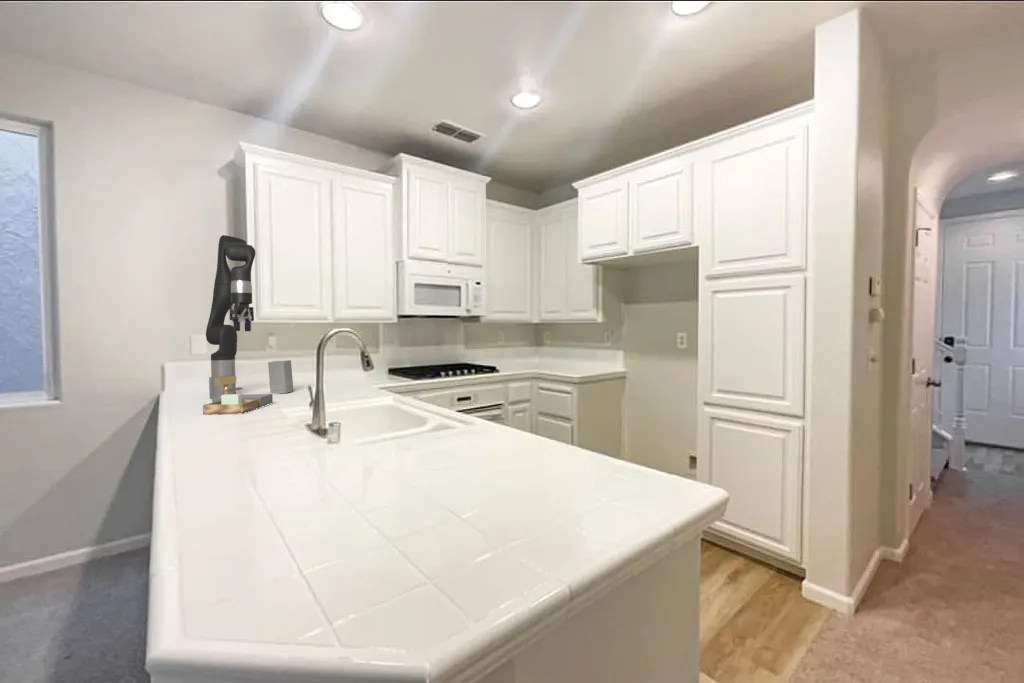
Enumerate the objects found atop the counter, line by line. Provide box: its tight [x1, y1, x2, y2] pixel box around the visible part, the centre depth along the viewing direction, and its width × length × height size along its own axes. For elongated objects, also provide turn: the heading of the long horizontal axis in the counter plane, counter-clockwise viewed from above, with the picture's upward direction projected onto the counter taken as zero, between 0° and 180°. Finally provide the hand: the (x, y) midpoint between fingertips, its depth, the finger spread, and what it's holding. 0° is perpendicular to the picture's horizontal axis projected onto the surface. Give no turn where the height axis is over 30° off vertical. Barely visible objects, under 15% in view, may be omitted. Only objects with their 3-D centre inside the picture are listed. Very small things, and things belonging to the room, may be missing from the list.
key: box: [215, 375, 243, 395], centre depth 176 cm, size 12×2×8 cm, turn 171°
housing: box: [211, 393, 274, 408], centre depth 175 cm, size 18×10×4 cm, turn 95°
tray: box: [202, 399, 260, 416], centre depth 163 cm, size 14×12×4 cm
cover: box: [221, 393, 243, 404], centre depth 163 cm, size 6×8×6 cm
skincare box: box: [267, 360, 294, 394], centre depth 213 cm, size 8×7×16 cm
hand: (242, 331), depth 183 cm, fingers open, 8 cm apart
